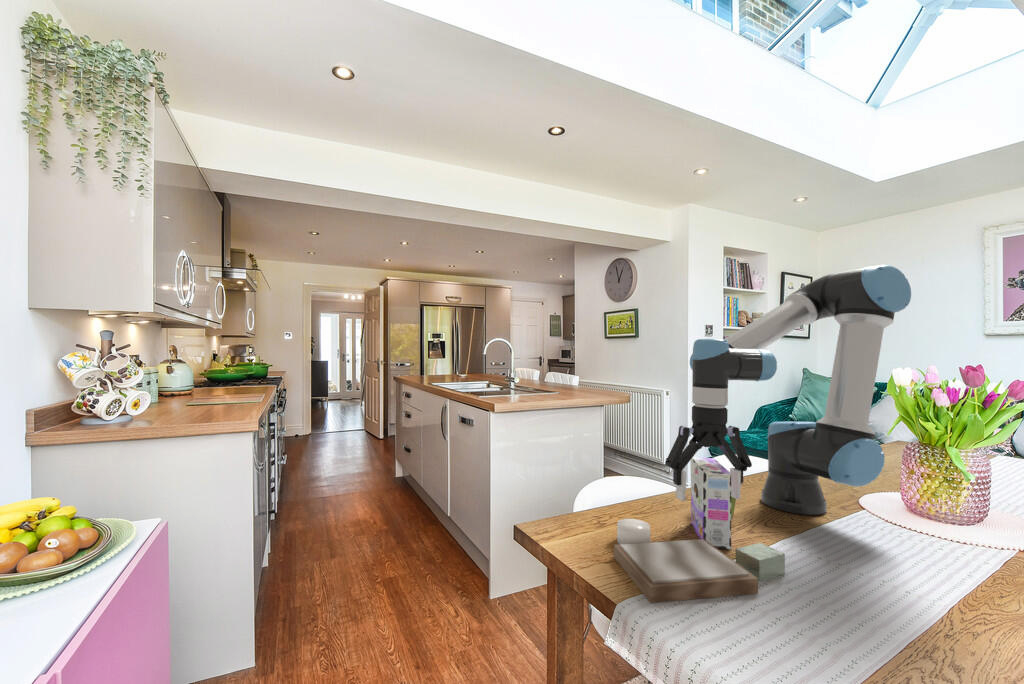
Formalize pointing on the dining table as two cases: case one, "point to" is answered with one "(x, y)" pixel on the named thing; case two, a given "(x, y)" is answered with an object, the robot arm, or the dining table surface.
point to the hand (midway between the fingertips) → (708, 498)
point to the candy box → (711, 501)
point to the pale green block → (761, 560)
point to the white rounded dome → (632, 531)
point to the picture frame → (683, 570)
